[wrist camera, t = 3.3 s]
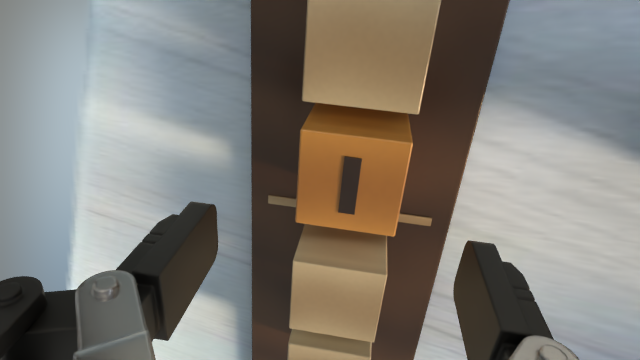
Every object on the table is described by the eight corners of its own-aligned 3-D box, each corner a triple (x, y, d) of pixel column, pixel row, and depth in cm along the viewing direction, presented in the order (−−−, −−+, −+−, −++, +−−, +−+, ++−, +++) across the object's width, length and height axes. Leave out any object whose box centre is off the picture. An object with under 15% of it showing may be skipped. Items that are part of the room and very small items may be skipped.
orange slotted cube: (316, 98, 20) (299, 129, 16) (407, 109, 19) (413, 143, 15) (311, 178, 22) (294, 224, 18) (393, 189, 21) (394, 238, 17)
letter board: (256, -242, 15) (198, -338, 10) (565, -231, 14) (654, -332, 9) (255, 381, 31) (232, 451, 27) (397, 407, 30) (399, 484, 26)
